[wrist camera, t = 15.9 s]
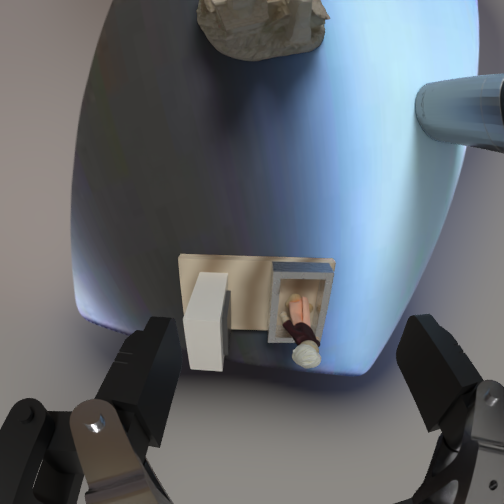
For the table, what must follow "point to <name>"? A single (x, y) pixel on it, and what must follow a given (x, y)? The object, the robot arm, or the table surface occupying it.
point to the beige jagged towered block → (262, 27)
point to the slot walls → (299, 272)
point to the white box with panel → (208, 322)
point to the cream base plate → (249, 285)
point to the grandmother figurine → (301, 331)
